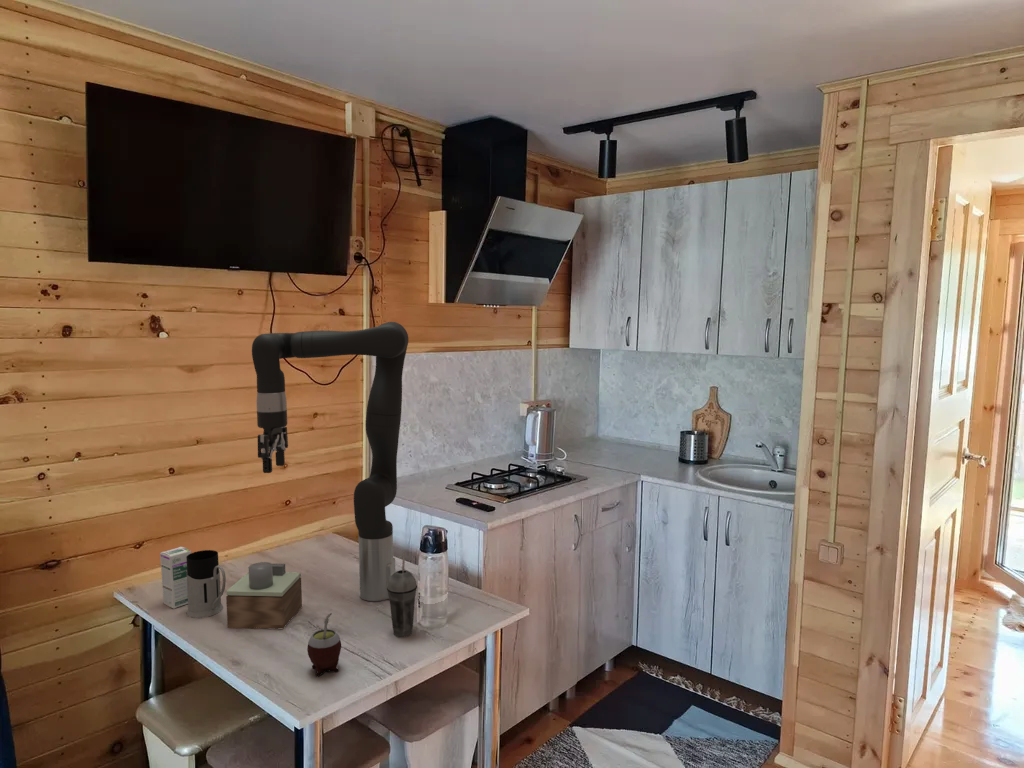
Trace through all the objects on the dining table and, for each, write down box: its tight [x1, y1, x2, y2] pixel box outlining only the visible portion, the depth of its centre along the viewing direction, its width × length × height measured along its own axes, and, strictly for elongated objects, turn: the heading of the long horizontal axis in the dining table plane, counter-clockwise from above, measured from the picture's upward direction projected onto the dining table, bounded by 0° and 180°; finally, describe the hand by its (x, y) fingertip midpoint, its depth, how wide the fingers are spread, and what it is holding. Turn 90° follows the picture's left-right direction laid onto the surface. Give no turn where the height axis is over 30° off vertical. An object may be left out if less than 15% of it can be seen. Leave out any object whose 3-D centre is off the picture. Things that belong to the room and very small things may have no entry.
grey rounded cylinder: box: [248, 561, 273, 590], centre depth 171 cm, size 6×6×5 cm
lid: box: [225, 562, 302, 596], centre depth 173 cm, size 14×13×4 cm
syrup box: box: [159, 546, 192, 610], centre depth 182 cm, size 6×6×14 cm
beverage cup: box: [387, 551, 418, 638], centre depth 164 cm, size 7×7×20 cm
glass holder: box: [186, 549, 227, 619], centre depth 176 cm, size 9×14×15 cm, turn 54°
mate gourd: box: [306, 612, 342, 678], centre depth 147 cm, size 8×8×15 cm
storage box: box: [225, 576, 303, 630], centre depth 174 cm, size 14×13×8 cm
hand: (274, 469), depth 182 cm, fingers open, 8 cm apart
